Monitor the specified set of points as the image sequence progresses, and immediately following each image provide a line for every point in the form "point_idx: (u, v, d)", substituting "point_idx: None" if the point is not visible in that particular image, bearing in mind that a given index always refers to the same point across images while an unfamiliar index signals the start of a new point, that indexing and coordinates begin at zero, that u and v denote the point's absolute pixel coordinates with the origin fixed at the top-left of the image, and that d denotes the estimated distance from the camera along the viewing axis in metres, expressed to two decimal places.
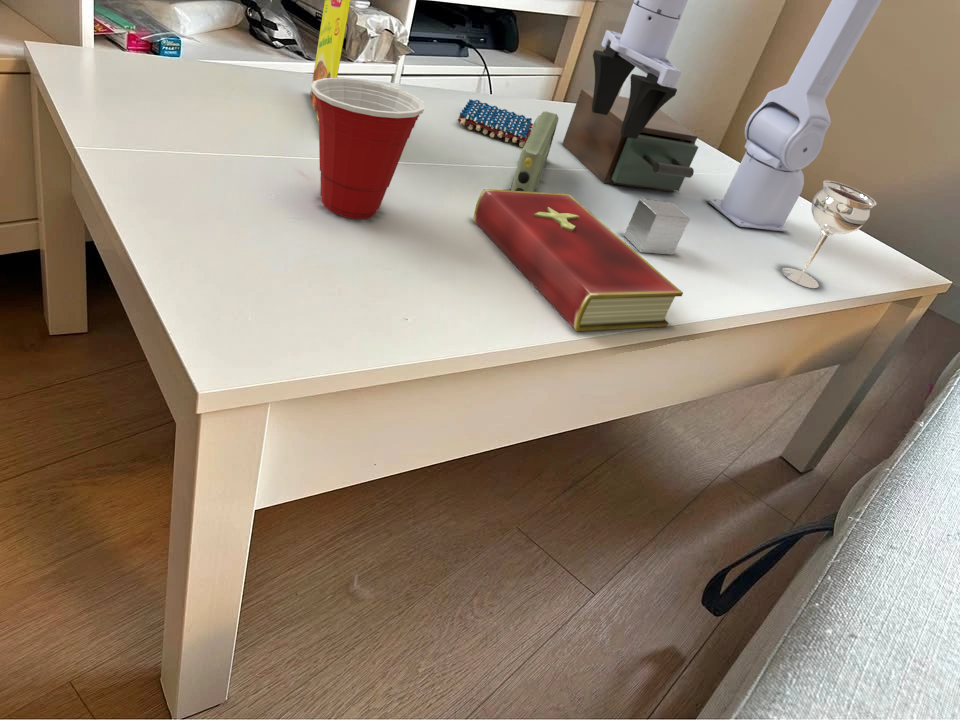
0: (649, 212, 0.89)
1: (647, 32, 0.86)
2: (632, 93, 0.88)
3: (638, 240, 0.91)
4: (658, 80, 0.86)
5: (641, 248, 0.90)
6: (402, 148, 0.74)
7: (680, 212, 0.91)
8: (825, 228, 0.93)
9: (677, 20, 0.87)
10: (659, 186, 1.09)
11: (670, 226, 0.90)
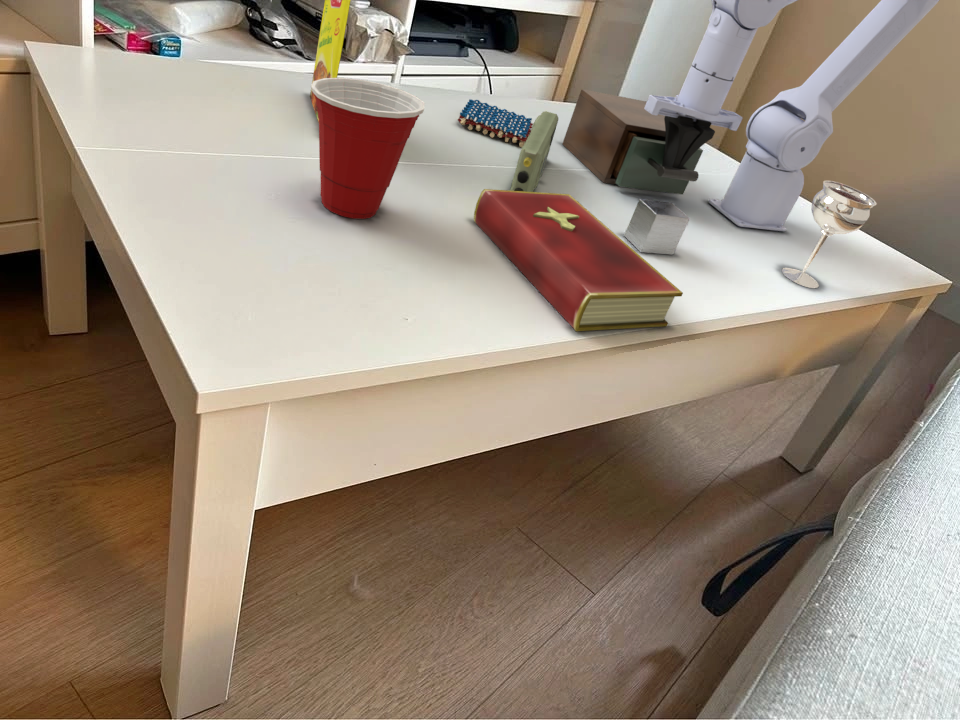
0: (649, 212, 0.89)
1: (684, 81, 0.99)
2: None
3: (638, 240, 0.91)
4: None
5: (641, 248, 0.90)
6: (402, 148, 0.74)
7: (680, 212, 0.91)
8: (825, 228, 0.93)
9: (703, 73, 0.95)
10: (663, 190, 1.09)
11: (670, 226, 0.90)
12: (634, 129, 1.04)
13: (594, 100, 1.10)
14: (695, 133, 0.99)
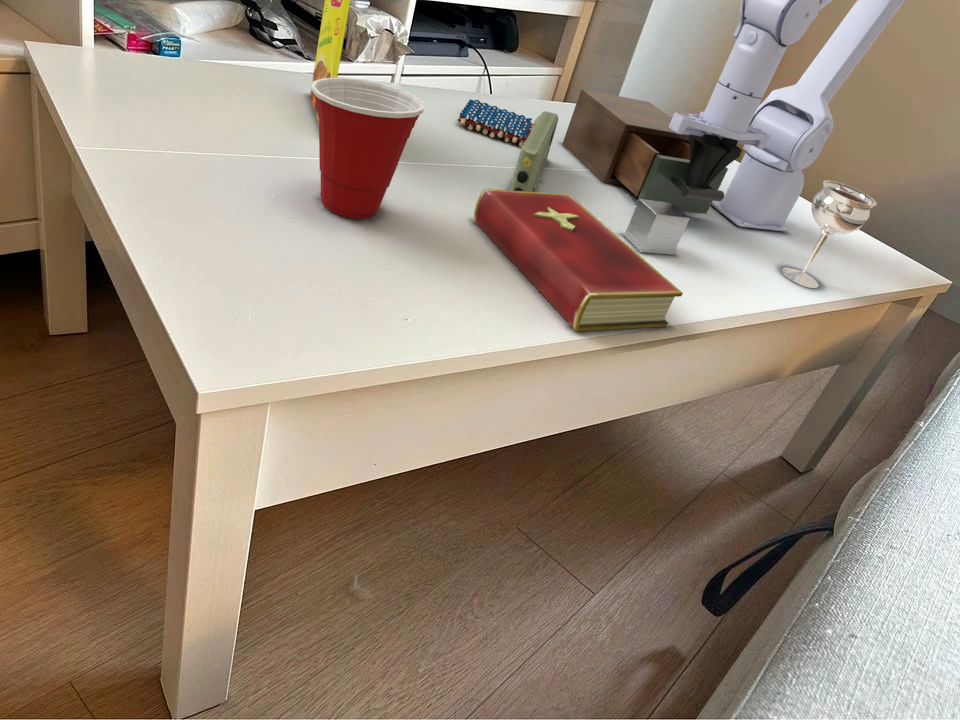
0: (649, 212, 0.89)
1: (710, 98, 0.94)
2: None
3: (638, 240, 0.91)
4: None
5: (641, 248, 0.90)
6: (402, 148, 0.74)
7: (680, 212, 0.91)
8: (825, 228, 0.93)
9: (731, 91, 0.91)
10: (686, 209, 1.04)
11: (670, 226, 0.90)
12: (634, 129, 1.04)
13: (594, 100, 1.10)
14: (722, 152, 0.95)
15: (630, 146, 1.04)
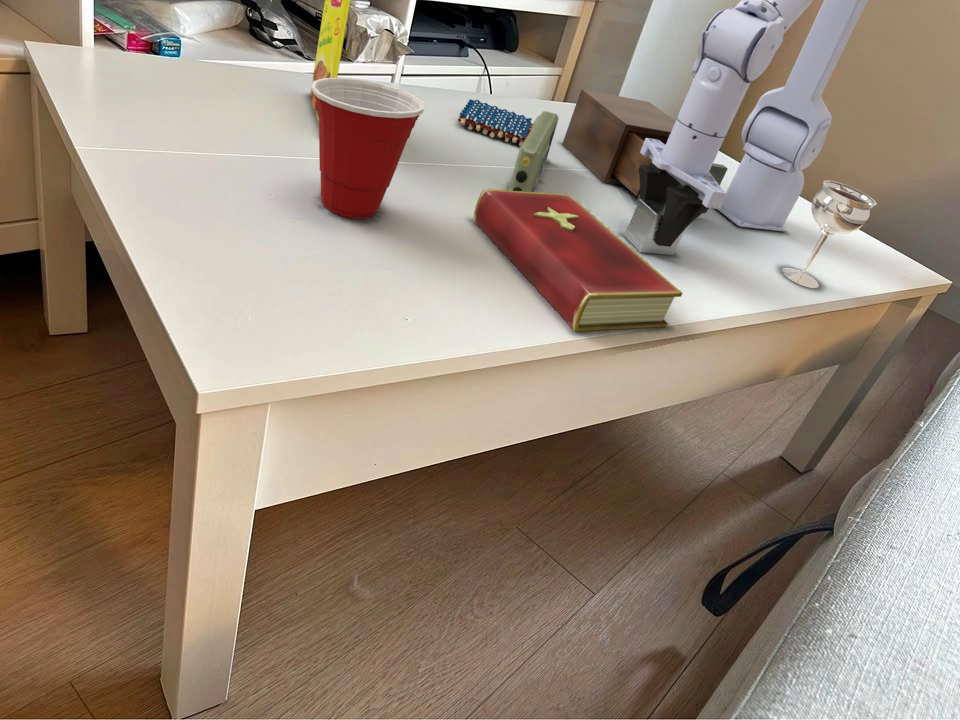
0: (649, 213, 0.89)
1: (692, 151, 0.84)
2: (668, 205, 0.87)
3: (638, 240, 0.91)
4: (703, 201, 0.83)
5: (641, 248, 0.90)
6: (402, 148, 0.74)
7: None
8: (825, 228, 0.93)
9: (722, 138, 0.84)
10: None
11: None
12: (634, 129, 1.04)
13: (594, 100, 1.10)
14: None
15: (630, 145, 1.04)
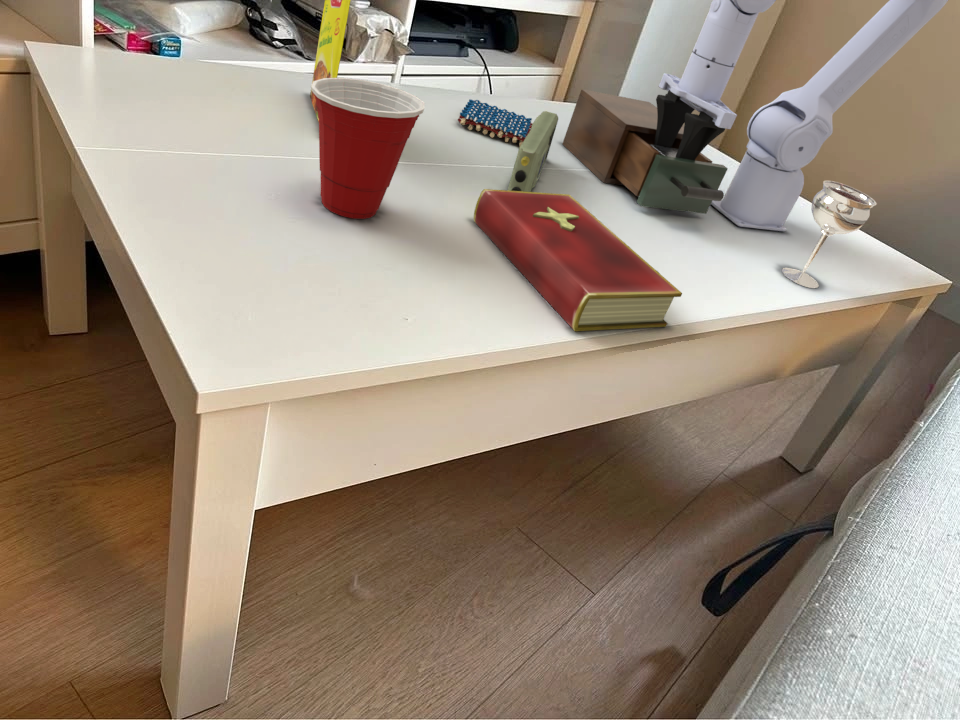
0: None
1: (705, 79, 0.96)
2: (686, 129, 0.99)
3: None
4: (716, 122, 0.95)
5: None
6: (402, 148, 0.74)
7: None
8: (825, 228, 0.93)
9: (732, 68, 0.96)
10: (686, 209, 1.04)
11: None
12: (634, 129, 1.04)
13: (594, 100, 1.10)
14: None
15: (630, 145, 1.04)
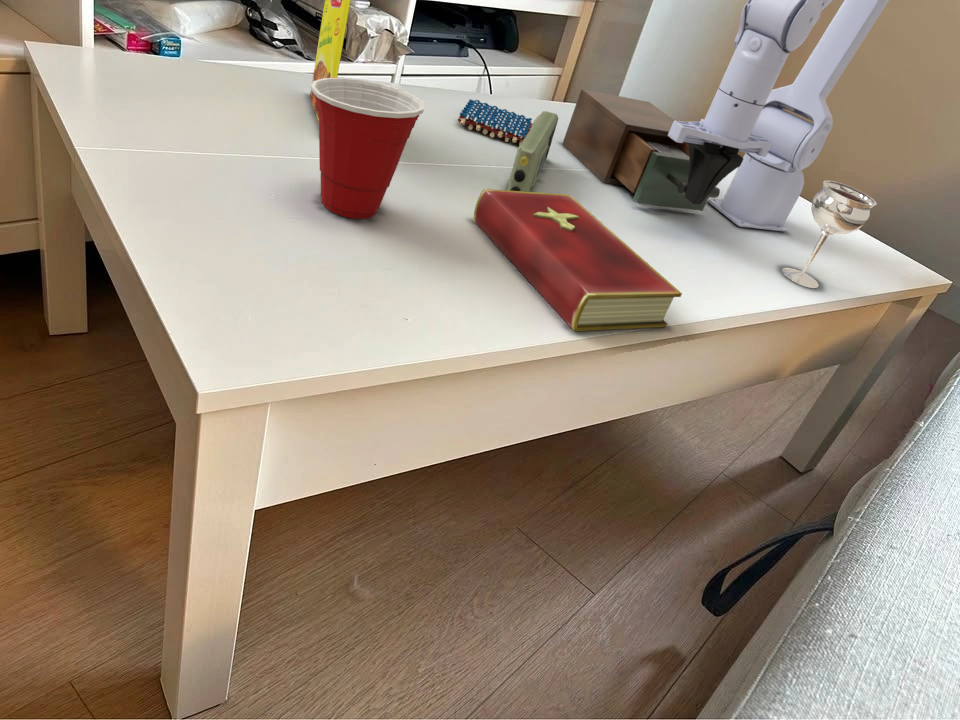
0: None
1: None
2: None
3: None
4: None
5: None
6: (402, 148, 0.74)
7: (682, 153, 1.05)
8: (825, 228, 0.93)
9: (732, 98, 0.88)
10: (682, 206, 1.05)
11: None
12: (634, 129, 1.04)
13: (594, 100, 1.10)
14: (722, 161, 0.92)
15: (626, 143, 1.05)
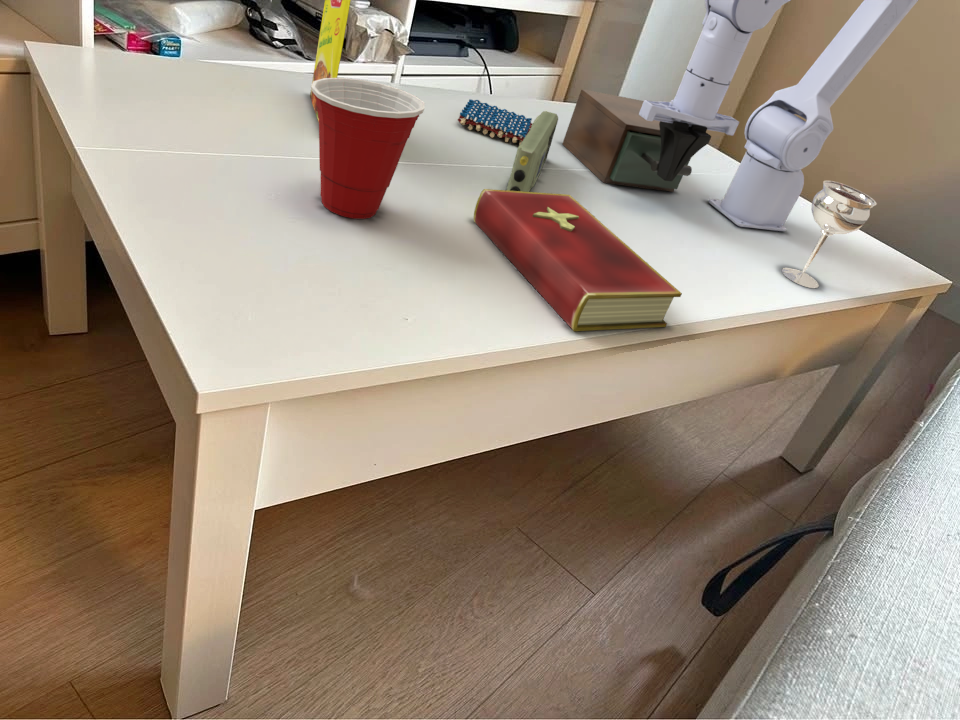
0: None
1: None
2: None
3: None
4: None
5: None
6: (402, 148, 0.74)
7: None
8: (825, 228, 0.93)
9: (698, 78, 0.93)
10: (657, 184, 1.10)
11: None
12: (634, 129, 1.04)
13: (594, 100, 1.10)
14: (691, 138, 0.97)
15: None
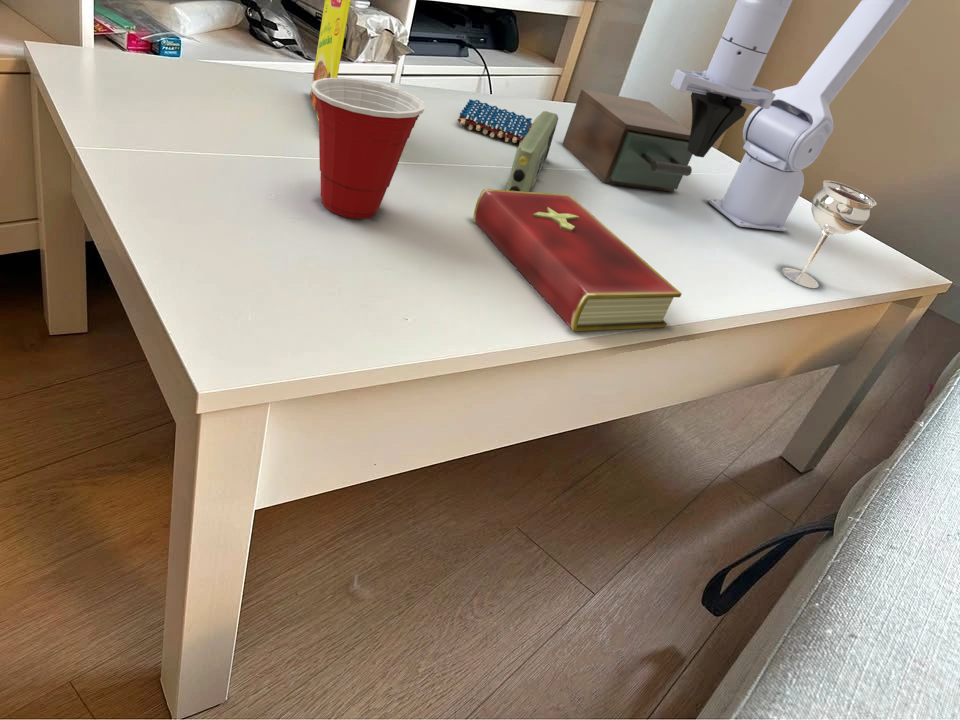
0: None
1: None
2: None
3: None
4: None
5: None
6: (402, 148, 0.74)
7: None
8: (825, 228, 0.93)
9: (735, 45, 0.88)
10: (657, 184, 1.10)
11: None
12: (634, 129, 1.04)
13: (594, 100, 1.10)
14: (725, 111, 0.91)
15: None
